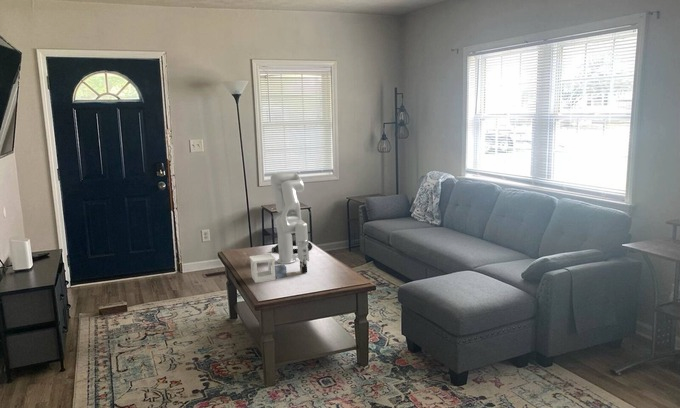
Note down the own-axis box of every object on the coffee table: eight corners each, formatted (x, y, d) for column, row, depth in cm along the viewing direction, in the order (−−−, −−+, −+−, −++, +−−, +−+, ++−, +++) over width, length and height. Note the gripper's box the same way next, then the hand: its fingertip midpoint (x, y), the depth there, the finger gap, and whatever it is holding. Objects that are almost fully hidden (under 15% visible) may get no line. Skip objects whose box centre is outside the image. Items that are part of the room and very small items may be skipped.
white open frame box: (271, 274, 323) (270, 253, 321) (276, 279, 311) (275, 258, 309) (250, 277, 318) (249, 256, 316) (254, 283, 306) (253, 261, 304)
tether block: (304, 271, 326) (304, 261, 325) (307, 273, 321) (307, 264, 320) (274, 275, 320) (274, 265, 319) (277, 277, 315) (276, 268, 314)
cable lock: (317, 246, 374) (277, 251, 363) (318, 251, 375) (277, 257, 363) (304, 238, 399) (266, 243, 388) (305, 243, 400) (267, 248, 388)
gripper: (311, 244, 313) (313, 274, 317) (304, 239, 329) (305, 267, 332) (299, 246, 311) (301, 276, 314) (292, 240, 326) (294, 269, 329)
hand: (303, 271), depth 323 cm, fingers closed on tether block, 3 cm apart
